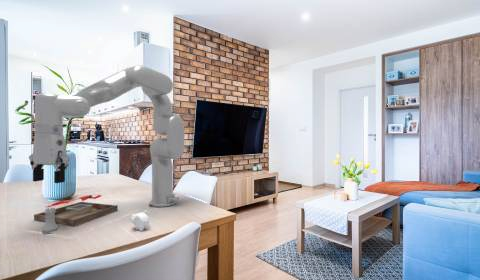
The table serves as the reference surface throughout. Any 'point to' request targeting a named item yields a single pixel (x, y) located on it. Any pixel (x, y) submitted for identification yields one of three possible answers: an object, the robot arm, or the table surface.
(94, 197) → the cloth
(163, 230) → the table surface
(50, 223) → the rook chess piece
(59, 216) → the walnut box
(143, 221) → the elephant figurine
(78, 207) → the metal socket
